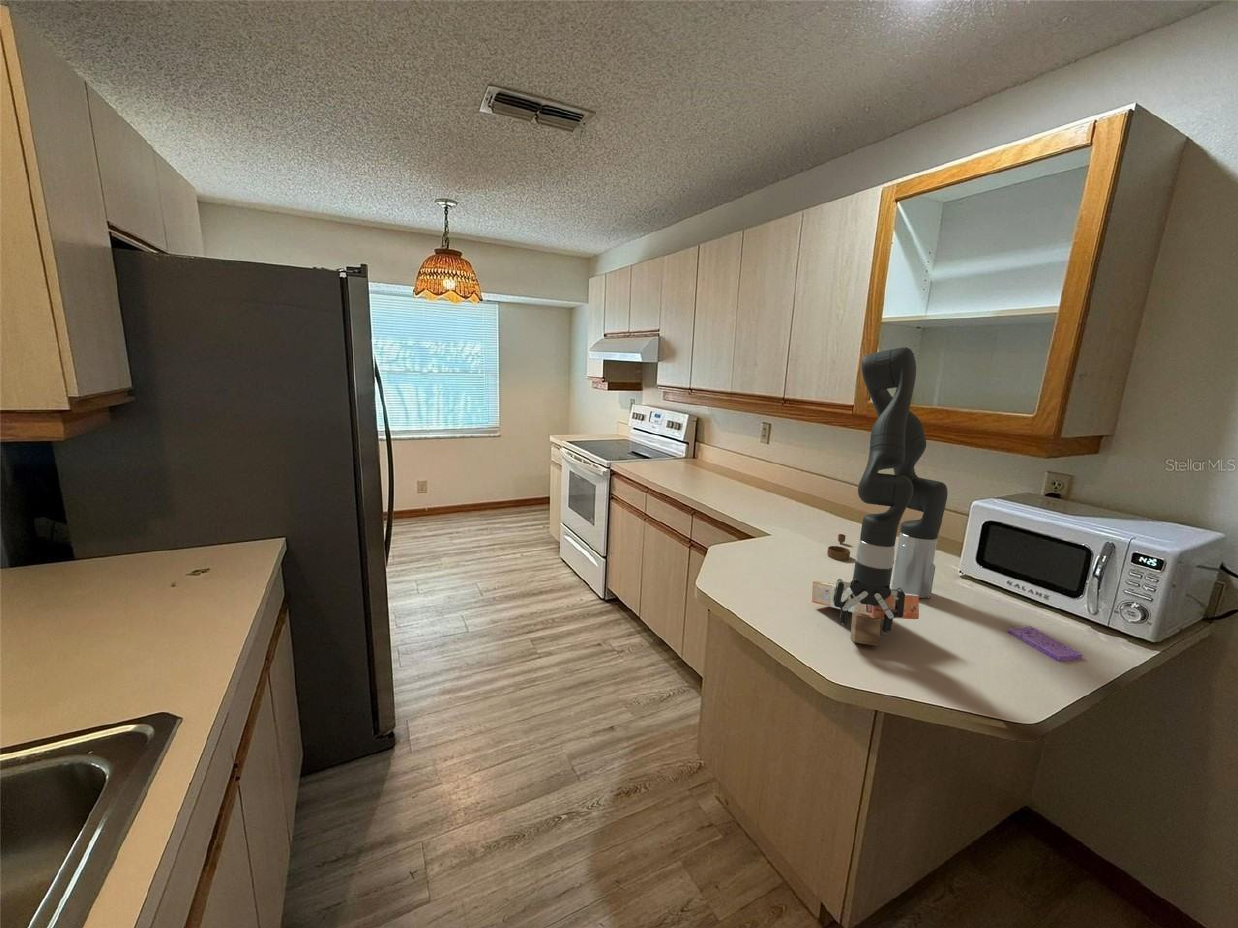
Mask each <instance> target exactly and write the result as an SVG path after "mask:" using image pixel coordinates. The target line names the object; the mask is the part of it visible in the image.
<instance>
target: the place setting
mask: <svg viewBox="0 0 1238 928" xmlns="http://www.w3.org/2000/svg"><path fill="white" fill-rule="evenodd" d="M845 541H846V534H843V533H838V536H837V542H839V544H840V545H843V543H845ZM826 553H827V557H828V558H829V559H832V560H836V561H841V562H845V561H848V560H849V559H850V556H851V551H850V549H848V548H846V547H844V546H838V545H830V546H828V547H827V552H826Z"/></svg>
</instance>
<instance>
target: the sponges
mask: <svg viewBox="0 0 1238 928" xmlns="http://www.w3.org/2000/svg"><path fill="white" fill-rule="evenodd" d="M1007 629H1008V631H1007V633H1009V634H1010V635H1012V636H1013V637H1015V638H1018V639H1019V640H1021V642H1024V643H1026V644H1028V645H1029V646H1031V647H1032V648H1034V649H1035V650H1038V651H1039V652H1041V653H1042V654H1044V655H1046V656H1047V657H1049V658H1051V659H1052V660H1055V661H1058V662H1064V661H1065V662H1066V661H1072V660H1074V661H1075V660H1082V659H1083V653H1081V652H1080V651H1077V650H1076V649H1074V648H1072V647H1070V646H1069V645H1068V646H1067V645H1066V644H1064V643H1061V642H1060V641H1059V640H1057V639H1056V638H1053V637H1050V636H1049V635H1048V634H1046V633H1044V632H1042V631H1040V630H1039V629H1037V628H1035V627H1033V626H1030V625H1029V626H1022V627H1021V626H1020V627H1008V628H1007Z"/></svg>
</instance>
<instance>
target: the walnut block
mask: <svg viewBox="0 0 1238 928" xmlns="http://www.w3.org/2000/svg"><path fill="white" fill-rule="evenodd" d="M851 613H852V614H851V626H850V627H851V629H850V639H851V640H852V641H853V642H854V643H858V644H863V645H869V646H875V647H880V634H881V619H882V618H872V617H868V616H864V615H860V614H857V613H853V612H851Z"/></svg>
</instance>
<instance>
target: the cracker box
mask: <svg viewBox="0 0 1238 928" xmlns="http://www.w3.org/2000/svg"><path fill="white" fill-rule="evenodd" d="M836 584H837V581H836V582H834V581H833V582H831V581H814V580H813V581H812V592H811V593H812V599H811V603H815V604H819V605H822V606H826V607H829V608H834V609H838V610H841V608H839V607H835V605H834V602H833V598H834V593H835V588H836ZM851 593H852V591H851V589H850V588H847V589H846V591H843V593H842V598H841V601H842V602H843V601H844V600H845V599H846V598H847V597H848V596H849V595H850V594H851ZM853 596H854V595H853ZM895 601H896V600H895V599H894V597H893V595H892V594H891V595H890V596H889V597H888V598H887V599H885V602H886V603H887V605H888V607H889V608H890V610H893V609H895ZM919 604H920V598H919V595H915V594H909V593H905V601H904V612H903V617H901V618H899V617H895V618H894V619H901V620H902V619H905V620H906V619H907V620H919V617H920V612H919V611H920V609H919V608H920V607H919V606H920V605H919ZM848 612H849V613H857V614H860V615H864V616H868V617H872V618H879V619H884V614H886V613H885V612H884V610H883V609H882V607H881V606H880V604H879V605H876V606H872V605H870V604H861V603H860V602H858V603H857V604H856V605H854V606H852V607H851V608H849V609H848Z"/></svg>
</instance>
